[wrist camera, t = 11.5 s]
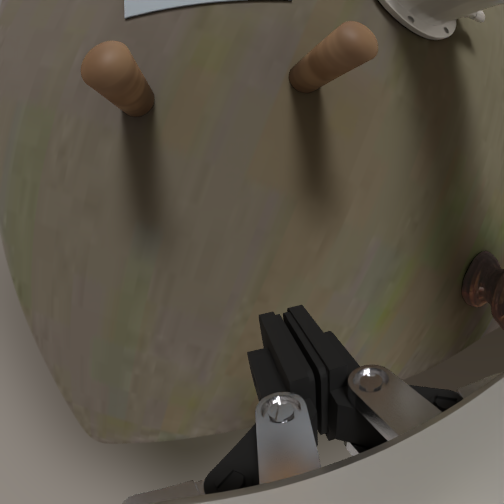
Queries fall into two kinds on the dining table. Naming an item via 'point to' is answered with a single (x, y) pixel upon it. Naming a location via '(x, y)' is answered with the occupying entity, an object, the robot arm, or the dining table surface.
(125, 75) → the post
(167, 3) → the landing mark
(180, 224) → the dining table surface
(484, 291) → the mortar and pestle
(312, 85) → the post
